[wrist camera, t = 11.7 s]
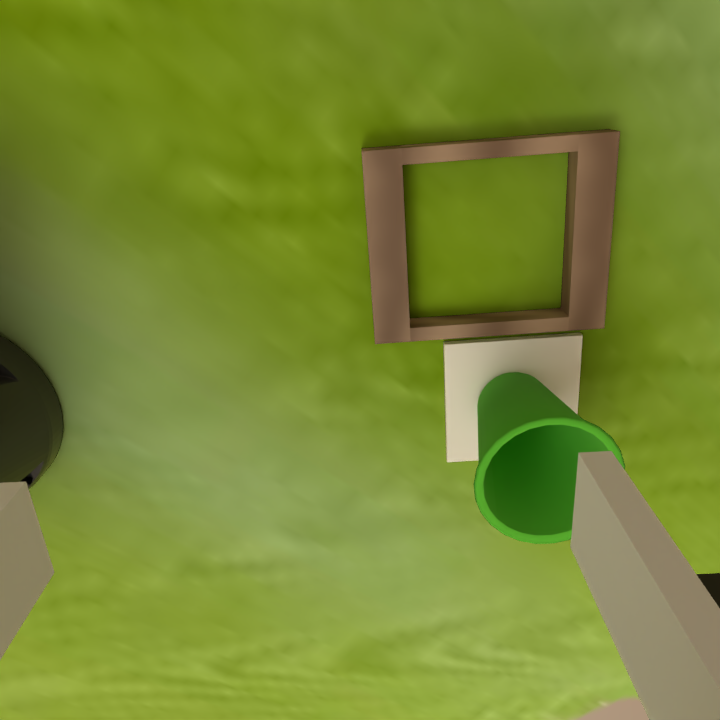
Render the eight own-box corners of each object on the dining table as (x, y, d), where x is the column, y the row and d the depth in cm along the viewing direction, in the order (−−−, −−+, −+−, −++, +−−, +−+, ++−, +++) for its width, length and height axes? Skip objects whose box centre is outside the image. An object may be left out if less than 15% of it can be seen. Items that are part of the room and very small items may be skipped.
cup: (595, 403, 49) (656, 486, 39) (501, 473, 51) (535, 568, 41) (522, 321, 46) (567, 388, 36) (426, 399, 49) (443, 482, 39)
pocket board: (374, 333, 47) (375, 343, 46) (361, 148, 42) (361, 151, 40) (594, 318, 47) (604, 328, 45) (608, 129, 42) (619, 131, 40)
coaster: (446, 458, 52) (447, 462, 51) (443, 341, 48) (444, 344, 47) (572, 450, 51) (574, 454, 51) (580, 332, 47) (582, 335, 47)
